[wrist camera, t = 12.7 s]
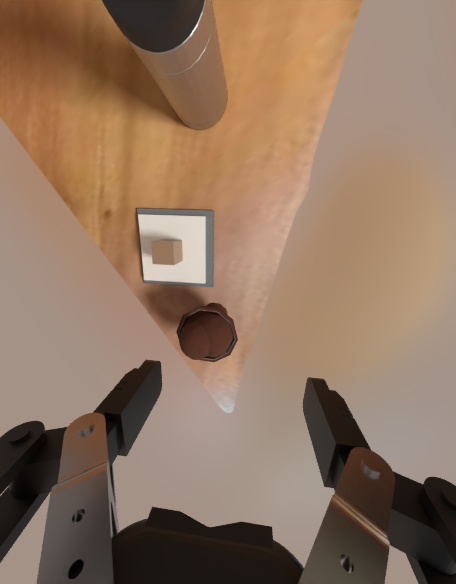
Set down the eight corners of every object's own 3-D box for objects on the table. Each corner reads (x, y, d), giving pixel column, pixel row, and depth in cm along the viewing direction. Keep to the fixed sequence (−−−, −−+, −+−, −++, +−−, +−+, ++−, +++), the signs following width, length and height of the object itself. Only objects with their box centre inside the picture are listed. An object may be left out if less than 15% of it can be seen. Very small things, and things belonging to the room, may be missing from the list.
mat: (138, 208, 42) (136, 208, 41) (214, 210, 40) (213, 210, 40) (145, 282, 46) (144, 283, 46) (213, 286, 45) (212, 287, 44)
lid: (140, 214, 41) (123, 212, 36) (205, 216, 40) (198, 215, 35) (145, 279, 45) (131, 286, 40) (205, 282, 44) (199, 290, 39)
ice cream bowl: (198, 340, 49) (177, 387, 35) (185, 295, 46) (156, 326, 32) (243, 333, 47) (240, 379, 33) (233, 286, 44) (224, 315, 30)
